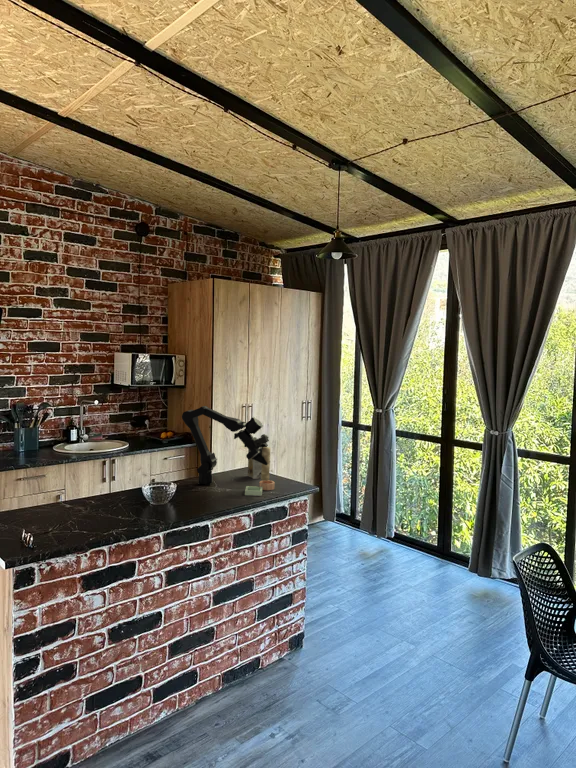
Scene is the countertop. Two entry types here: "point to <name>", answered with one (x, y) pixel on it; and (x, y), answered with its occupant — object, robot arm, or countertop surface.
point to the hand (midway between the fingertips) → (268, 463)
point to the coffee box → (254, 468)
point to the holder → (267, 485)
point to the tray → (253, 490)
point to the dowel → (265, 468)
